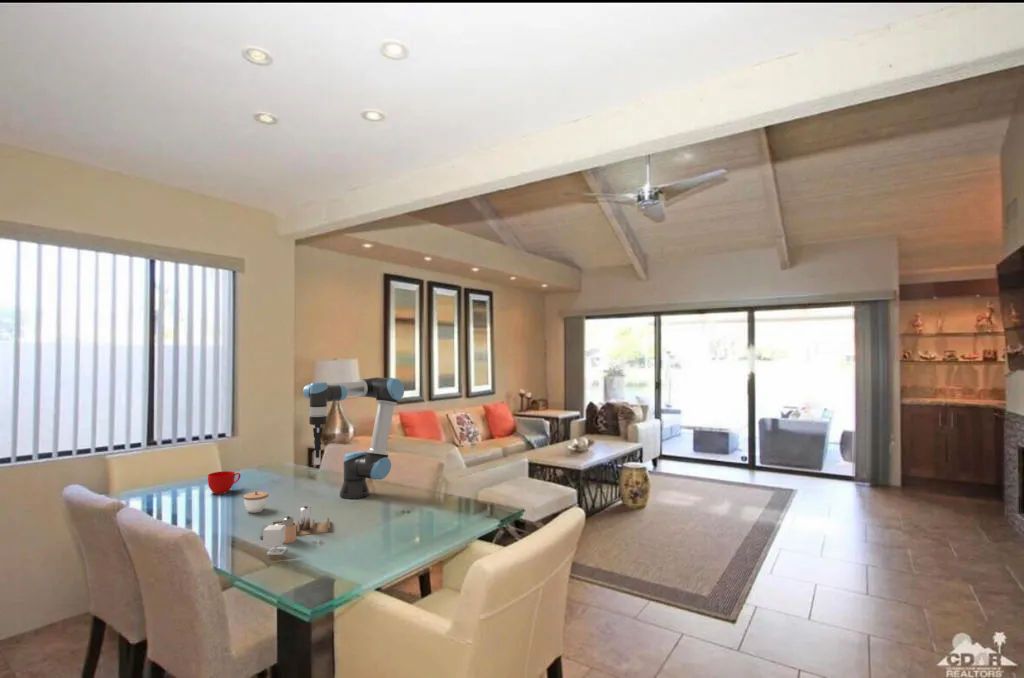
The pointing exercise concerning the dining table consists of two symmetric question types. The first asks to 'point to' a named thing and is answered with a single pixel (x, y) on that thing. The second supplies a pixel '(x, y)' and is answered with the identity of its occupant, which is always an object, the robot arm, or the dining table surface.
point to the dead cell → (288, 521)
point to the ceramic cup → (221, 481)
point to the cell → (305, 518)
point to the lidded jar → (255, 501)
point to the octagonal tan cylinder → (290, 533)
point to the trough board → (314, 528)
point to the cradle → (268, 525)
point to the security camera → (274, 539)
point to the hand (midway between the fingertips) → (317, 461)
